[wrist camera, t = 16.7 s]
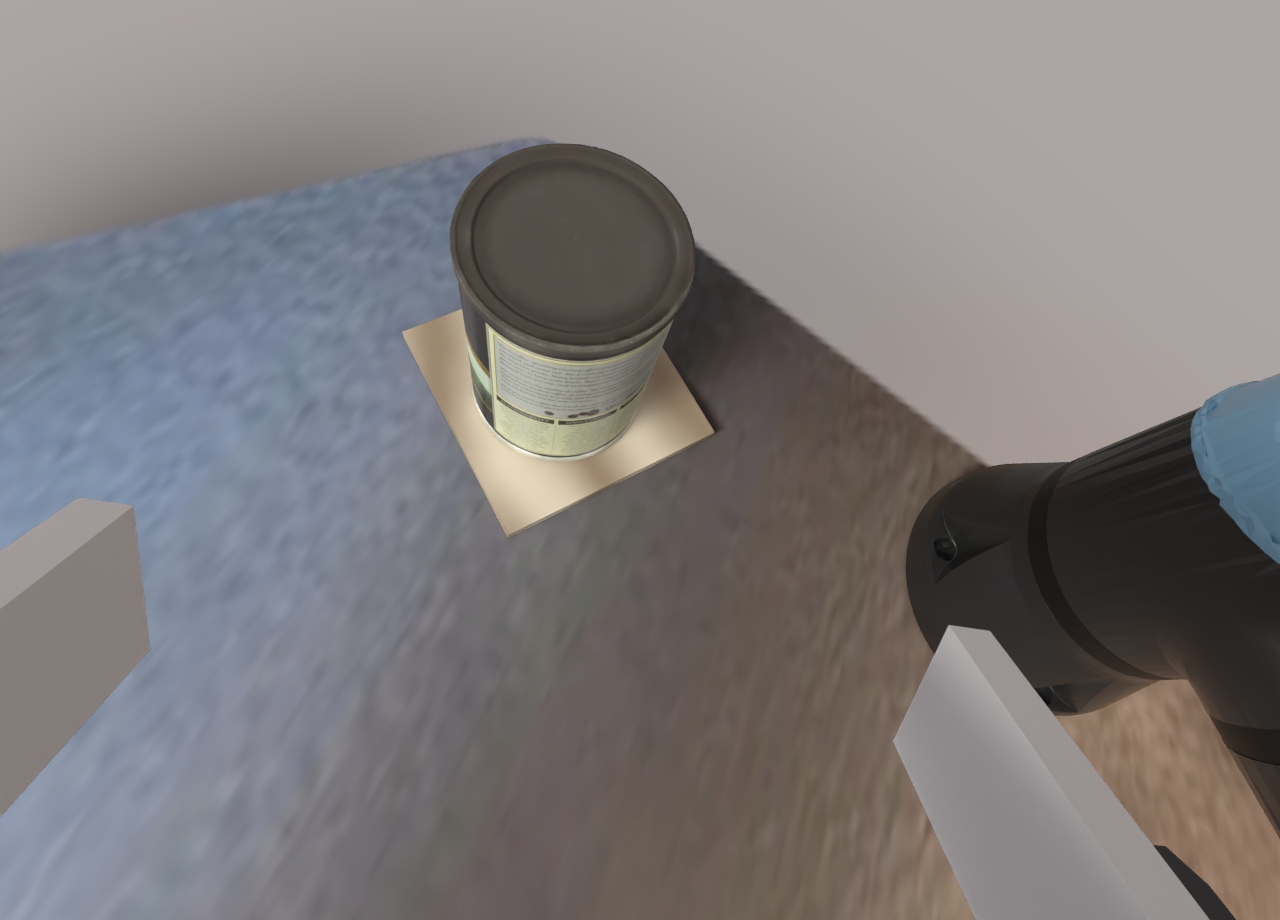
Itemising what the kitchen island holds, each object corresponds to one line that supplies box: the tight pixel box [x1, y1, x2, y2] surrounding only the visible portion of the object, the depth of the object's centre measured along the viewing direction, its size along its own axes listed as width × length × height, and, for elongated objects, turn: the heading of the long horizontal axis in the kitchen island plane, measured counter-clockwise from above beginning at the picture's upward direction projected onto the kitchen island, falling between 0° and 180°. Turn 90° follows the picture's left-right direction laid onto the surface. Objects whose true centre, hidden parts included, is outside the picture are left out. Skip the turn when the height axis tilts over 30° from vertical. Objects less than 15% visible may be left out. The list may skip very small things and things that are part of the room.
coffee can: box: [450, 144, 696, 462], centre depth 36 cm, size 10×10×14 cm
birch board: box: [402, 309, 715, 538], centre depth 43 cm, size 14×14×1 cm
